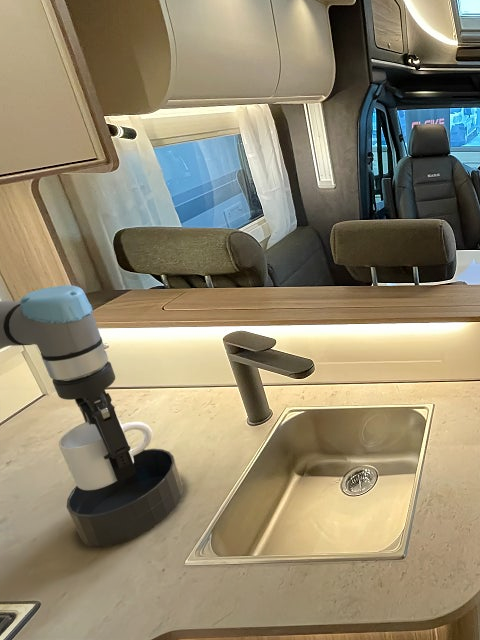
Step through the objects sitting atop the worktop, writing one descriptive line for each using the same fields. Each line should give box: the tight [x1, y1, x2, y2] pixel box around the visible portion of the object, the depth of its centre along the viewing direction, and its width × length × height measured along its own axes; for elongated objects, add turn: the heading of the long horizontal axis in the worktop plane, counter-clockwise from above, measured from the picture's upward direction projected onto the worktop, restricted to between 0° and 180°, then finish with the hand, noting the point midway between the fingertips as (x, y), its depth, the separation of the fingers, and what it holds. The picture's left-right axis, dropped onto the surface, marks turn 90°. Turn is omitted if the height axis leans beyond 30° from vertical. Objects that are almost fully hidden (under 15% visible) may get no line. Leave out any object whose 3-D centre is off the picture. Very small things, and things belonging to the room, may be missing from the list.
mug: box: [58, 418, 153, 490], centre depth 80 cm, size 12×8×10 cm
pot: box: [66, 448, 184, 548], centre depth 84 cm, size 16×16×8 cm
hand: (118, 466), depth 82 cm, fingers closed on mug, 8 cm apart
